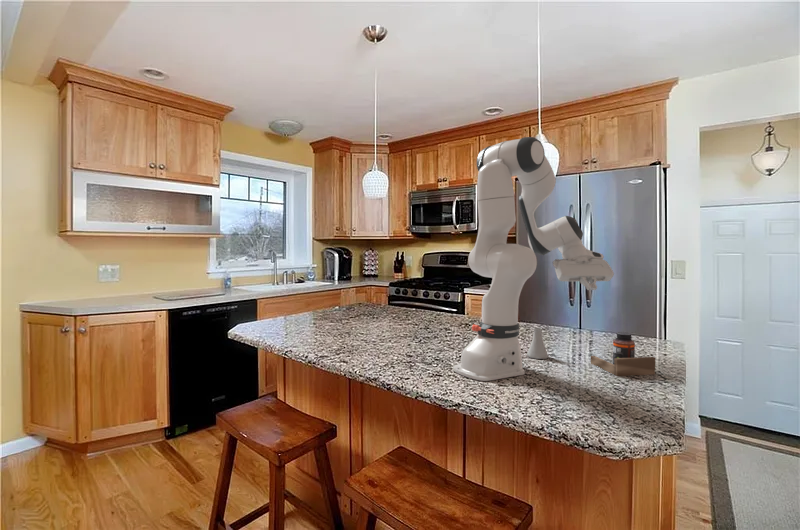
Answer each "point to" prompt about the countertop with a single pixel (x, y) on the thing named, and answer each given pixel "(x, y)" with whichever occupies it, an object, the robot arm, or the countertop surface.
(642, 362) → the walnut bay
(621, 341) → the supplement bottle
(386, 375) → the countertop surface
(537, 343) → the flask
